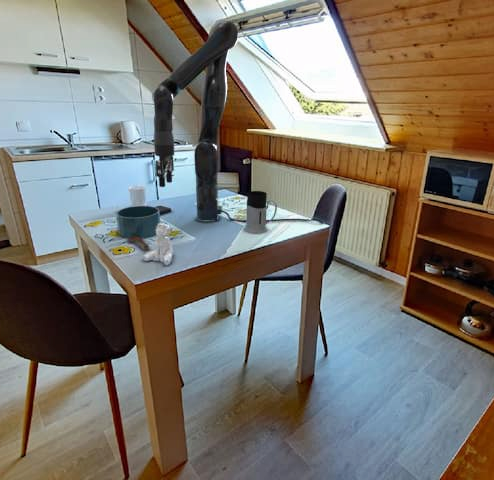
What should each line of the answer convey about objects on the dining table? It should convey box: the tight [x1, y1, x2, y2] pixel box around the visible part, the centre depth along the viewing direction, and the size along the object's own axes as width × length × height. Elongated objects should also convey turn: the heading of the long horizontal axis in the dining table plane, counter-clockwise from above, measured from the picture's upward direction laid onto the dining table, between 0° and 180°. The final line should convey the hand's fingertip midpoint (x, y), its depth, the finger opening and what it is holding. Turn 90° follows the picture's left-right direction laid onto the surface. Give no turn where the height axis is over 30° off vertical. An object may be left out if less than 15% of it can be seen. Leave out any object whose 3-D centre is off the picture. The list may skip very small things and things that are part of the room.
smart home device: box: [154, 205, 172, 216], centre depth 156 cm, size 8×2×20 cm
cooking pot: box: [115, 205, 161, 239], centre depth 135 cm, size 16×16×8 cm
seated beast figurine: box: [143, 222, 174, 266], centre depth 111 cm, size 10×9×12 cm
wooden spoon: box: [127, 236, 150, 252], centre depth 123 cm, size 13×4×2 cm, turn 36°
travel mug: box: [244, 190, 278, 234], centre depth 135 cm, size 9×14×15 cm, turn 44°
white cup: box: [128, 185, 147, 207], centre depth 165 cm, size 8×8×10 cm
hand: (165, 184), depth 139 cm, fingers open, 8 cm apart
